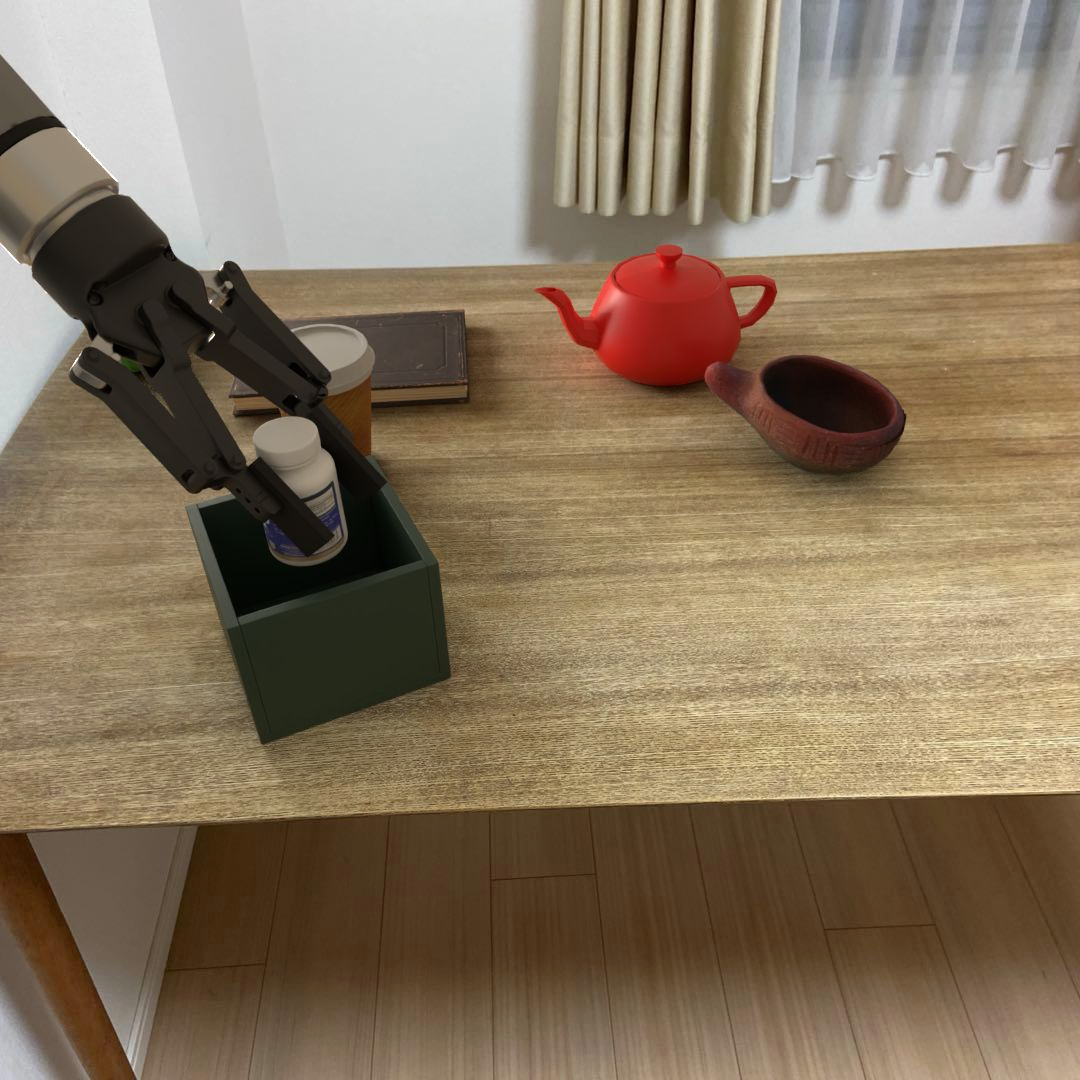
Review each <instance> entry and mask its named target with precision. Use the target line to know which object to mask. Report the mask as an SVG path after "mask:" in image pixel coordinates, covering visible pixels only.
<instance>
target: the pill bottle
mask: <svg viewBox="0 0 1080 1080" xmlns="http://www.w3.org/2000/svg"><path fill="white" fill-rule="evenodd" d="M252 443H253V448H254V453H255V457H256V459H257V458H258V457H259V456H260V457H261V458H262V459H263V460H264V461H265V462H266V463H267V464H268V465H269V466H270V467H271V469H272V470H273V471H274V472H275V473H276V474H277V475H278V476H279V477H280V478H281V479H282V480H283V481H284V482H285V483H286V484H287V485H288V486H289V487H290V488H291V490H292V491H293V492H294V493H295V494H296V495H297V496H298V497H299V498H300V499H301V500H302V501H303V502H304V503H305V504H306V505H307V506H308V507H309V508H310V509H311V511H312V512H313V513H314V514H315V515H316V516H317V517H318V518H319V519H320V520H321V521H322V522H323V523H324V524H325V525H326V526H327V527H328V528H329V529H330V531H331V532H332V533H333V534H334V535H335V536H334V537H333V538H332V539H331V540H330V541H329V542H328V543H327V544H325V545H324V546H323V547H321V548H320V549H319V550H317V551H316V552H315V553H313V554H312V555H311V556H309V557H308V558H307V557H306V556H305V555H304V554H303V553H302V552H301V551H300V550H299V549H298V548H297V547H296V546H295V545H294V543H293V542H292V541H291V540H290V539H289V538H288V537H287V536H286V535H285V534H284V533H283V532H282V531H281V530H280V529H279V528H278V527H277V526H276V525H275V524H274V523H273V522H272V521H271V520H270V519H269V520H268V521H267V522H265V523H263V525H264V529H265V533H266V537H267V541H268V545H269V549H270V551H271V553H272V554H273V556H274V557H275V558H276V559H278V560H279V561H281V562H283V563H285V564H288V565H293V566H311V565H316V564H319V563H322V562H325V561H327V560H329V559H331V558H333V557H334V556H335V555H337V554H338V553H339V552H340V551H341V550H342V548H343V547H344V545H345V544H346V541H347V537H348V532H347V526H346V520H345V515H344V510H343V505H342V500H341V494H340V489H339V483H338V478H337V473H336V468H335V463H334V460H333V458H332V456H331V455H330V454H329V453H328V452H327V451H326V450H325V449H323V448H321V443H320V437H319V433H318V429H317V427H316V425H315V424H314V423H313V422H312V421H310V420H308V419H306V418H302V417H282V416H281V417H278V418H274V419H271V420H268V421H266V422H264V423H263V424H261V425H260V426H259V427H258V428H257V429H256V430H255V431H254V433H253V435H252Z"/></svg>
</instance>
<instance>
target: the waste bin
mask: <svg viewBox="0 0 1080 1080" xmlns="http://www.w3.org/2000/svg"><path fill="white" fill-rule="evenodd" d="M365 458H366V459H367V460H368V461H369V462H370V463H371V464H372V466H373V467H374V468H375V469H376V470H377V471H378V472H379V473H380V474H381V475H382V476H383V477H384V479H385V480H386V481H387V483H386V484H385V485H384V486H383V487H382V488H381V489H380V490H378V491H377V492H376V493H374V494H373V495H372V496H370V497H369V498H368V499H367V500H365V501H364V502H363V503H361V504H360V503H359V502H358V501H357V500H356V499H355V498H354V497H353V496H352V494H351V493H350V492H349V491H348V490H347V489H346V488H345V487H344V486H343V485H342V484H341V483H340V482H339V481H338V483H339V489H340V494H341V500H342V505H343V510H344V515H345V520H346V526H347V532H348V537H347V541H346V544H345V545H344V547H343V548H342V550H341V551H340V552H339V553H338V554H337V555H335V556H334V557H333V558H331V559H329V560H327V561H325V562H322V563H319V564H316V565H311V566H293V565H288V564H285V563H283V562H281V561H279V560H278V559H276V558H275V557H274V556H273V554H272V553H271V551H270V549H269V545H268V541H267V537H266V533H265V529H264V525H263V522H261V521H259V520H257V519H256V518H255V517H254V516H253V515H252V514H251V513H250V511H248V510H247V509H246V507H245V506H243V505H242V504H241V503H240V502H239V501H238V499H237V498H236V497H235V496H234V495H233V494H232V493H231V492H230V493H227V494H222V495H219V496H215V497H212V498H208V499H205V500H200V501H198V502H195V503H189V504H187V505H185V506H184V508H185V512H186V515H187V518H188V522H189V524H190V528H191V531H192V534H193V538H194V541H195V545H196V547H197V551H198V554H199V558H200V560H201V561H200V562H201V565H202V568H203V570H204V574H205V577H206V580H207V583H208V586H209V591H210V593H211V596H212V600H213V603H214V606H215V609H216V613H217V616H218V619H219V622H220V626H221V628H222V631H223V634H224V638H225V640H226V643H227V647H228V649H229V652H230V655H231V658H232V661H233V664H234V667H235V671H236V673H237V676H238V679H239V682H240V685H241V688H242V691H243V694H244V697H245V700H246V702H247V706H248V709H249V712H250V715H251V718H252V721H253V724H254V727H255V731H256V734H257V735H258V736H257V737H258V739H259V741H260V745H266V744H268V743H271V742H275V741H276V740H277V741H278V740H279V739H282V738H284V737H287V736H291V735H293V734H296V733H300V732H302V731H305V730H308V729H310V728H313V727H315V726H318V725H321V724H324V723H327V722H330V721H332V720H337V719H338V718H342V717H344V716H347V715H349V714H352V713H356V712H358V711H361V710H364V709H367V708H369V707H371V706H375V705H378V704H380V703H383V702H386V701H389V700H392V699H394V698H397V697H400V696H404V695H406V694H408V693H411V692H414V691H417V690H419V689H423V688H426V687H429V686H431V685H434V684H437V683H439V682H443V681H445V680H448V679H450V678H452V673H451V664H450V663H451V662H450V654H449V645H448V644H449V643H448V635H447V625H446V616H445V609H444V599H443V589H442V579H441V571H440V563H439V561H438V559H437V558H436V555H434V553H433V551H432V549H431V548H430V546H429V544H428V543H427V542H426V540H425V538H424V536H423V535H422V533H421V532H420V530H419V529H418V527H417V525H416V523H415V522H414V520H413V519H412V517H411V516H410V514H409V512H408V511H407V509H406V507H405V506H404V504H403V502H402V501H401V499H400V498H399V496H398V494H397V493H396V491H395V490H394V488H393V486H392V484H391V483H390V481H389V480H388V478H387V476H386V475H385V473H384V471H383V470H382V468H381V467H380V465H379V464H378V462H377V460H376V458H375V457H374V455H373V454H371V455H369V456H366V457H365Z"/></svg>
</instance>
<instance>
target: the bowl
mask: <svg viewBox="0 0 1080 1080" xmlns="http://www.w3.org/2000/svg"><path fill="white" fill-rule="evenodd" d="M704 377H705V379H704V382H705V383H706V385H707V386H708V388H709V389H710V391H711V392H712V393H713V394H714V395H715V396H717V398H719V399H720V400H721V401H722V402H723V403H725V404H726V405H727V406H728V407H730V408H731V409H732V410H733V411H735V412H736V413H737V414H739V416H741V418H743V419H744V420H745V421H746V422H748V424H749V426H751V427H752V428H753V429H754V430H755V431H756V432H757V434H758V436H760V438H761V439H762V440H763V441H764V442H765V444H766V445H767V446H768V447H769V448H770V449H771V450H772V451H773V452H774V453H775V454H776V455H777V456H778V457H780V458H781V459H782V460H784V461H785V462H787V463H789V464H790V465H792V466H794V467H795V468H798V469H799V470H803V471H806V472H808V473H812V474H813V473H814V474H821V475H831V476H833V475H834V476H836V475H846V474H847V475H848V474H855V473H860V472H863V471H867V470H869V469H871V468H873V467H875V466H877V465H879V464H880V463H881V462H883V461H884V460H885V459H886V458H888V457H889V455H890V454H891V453H892V452H893V451H894V449H895V447H896V446H897V445H898V444H899V442H900V441H901V438H902V436H903V434H904V431H905V427H906V422H907V414H906V412H905V410H904V408H902V406H901V403H900V401H899V400H898V398H896V396H895V395H894V394H893V393H892V392H891V390H889V388H888V387H887V386H885V385H884V384H883V383H882V382H880V381H879V380H878V379H877V378H874V377H873V376H871V375H869V374H867V373H866V372H863V371H862V370H859V369H857V368H856V367H853V366H851V365H848V364H846V363H842V362H840V361H837V360H834V359H831V358H827V357H824V356H823V357H822V356H818V355H811V354H809V355H807V354H787V355H782V356H779V357H776V358H774V359H772V360H770V361H768V362H766V363H764V364H763V365H762V366H760V367H759V368H758V369H753V370H750V371H749V370H748V371H747V370H743V369H740V368H738V367H735V366H733V365H732V364H730V363H728V364H726V363H723V362H719V361H718V362H716V363H713V364H710V366H708V367H707V370H706V373H705V376H704Z"/></svg>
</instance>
